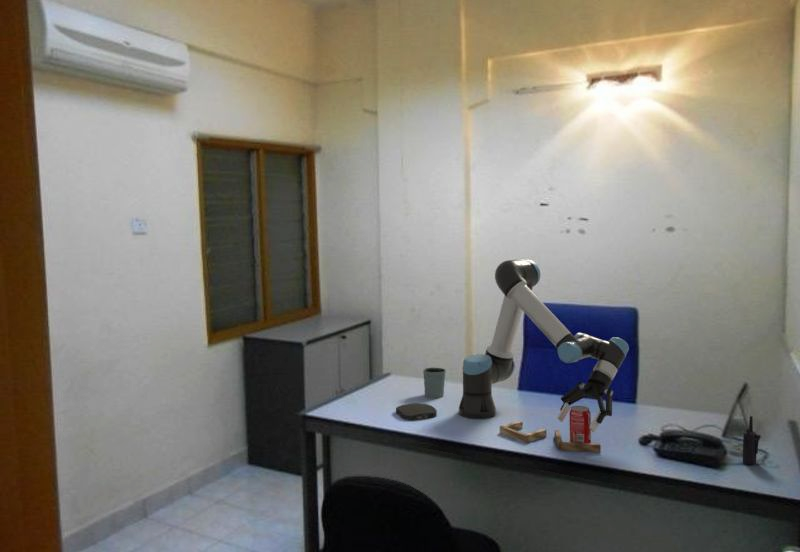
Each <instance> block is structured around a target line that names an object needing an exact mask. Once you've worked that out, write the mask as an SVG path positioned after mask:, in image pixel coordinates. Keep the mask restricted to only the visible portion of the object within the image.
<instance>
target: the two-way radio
mask: <svg viewBox="0 0 800 552" xmlns="http://www.w3.org/2000/svg"><path fill="white" fill-rule="evenodd" d="M753 421H754V420H753V416H752V415H750V416H749V424H748V428H746V431H745V432H743V436H742V437H743V439H742V441H743V442H742V463H743V464H746V465H754V464H756V463H757V455H758V452H759V442H760V439H761V437H762V436H761V434H757V432H755V431H753V430H754V429H753V428H754V427H753V425H754V424H753V423H754V422H753Z"/></svg>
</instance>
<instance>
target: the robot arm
mask: <svg viewBox="0 0 800 552" xmlns="http://www.w3.org/2000/svg"><path fill="white" fill-rule="evenodd" d="M540 279H541V270H540V268H539V266H538V264H537V263H536V262H535V261H533V260H531V259H527V258H520V259H509V260H505V261H502V262H501V263H499V265H498V266H497V267H496V269H495V271H494V280H495V284H496V286H497V287H498V289H499V290H500V291H501V293H502V294H503V295H504V296H503V300H502V304H501V307H500V311H499V315H498V319H497V323H496V326H495V330H494V334H493V337H492V342H491V344H490V345H488V346H487V347H486V349H485V354H482V353H479V354H475V355H474V354H471V355H469V356H467V357H465V358H464V359H463V363H462V369H461V370H462V397H461V400H460V402H459V403H460V404H459V406H458V415H460V416H462V417H464V418H467V419H474V420H481V419H482V420H483V419H484V420H485V419H490V418H493V417H495V416H496V415H497V407H496V405H495V402H494V399H493V396H492V393H493V392H492V391H493V389H492V386H493V385H494V384H497V383H499V382H504V381H506V380H507V379H509V378H510V377H511V376H512V375H513V374H514V372H515V370H516V369H515V368H516V364H515V360H514V356H515V355H514V353H513V351H512V350H513V346H514V342H515V339H516V335H517V331H518V327H519V323H520V320H521V316H522V313H525V315H526V316H527V317H528V318H529V319H530V320H531V322H532V323H534V325H535V326H536V327H537V328H538V329H539V330H540V332H542V334H544V335H545V337H546V338H547V339H548V340H549V341H550V342H551V343H552V345H554V347H555V348H556V349H557V355H558V357H559V359H560V360H561V361H562V362H564V363H567V364H570V363H571V364H573V363H577V362H579V361H581V360H582V359H586V358H589V357H590V358H592V359H595V360H597V362H596V364H595V365H594V367H593V369H592V370H593V371H592V370H591V372H590V374H589V376H588V378H587V382H586V383H584V382H582V381H581V380H580V381H578V382H577V383H576V385H574V387H573V388H571V389H570V390H569V391H567V393H565V394H564V395H562V397H560V400H561V401H562V405H561V408H559V409H560V412H559V413H558V415H557V416H556V417H557V419H558V420H559V422H560V423H563V422H564V419H565V418H566V416H567V414H568V413H569V412H570V410H571V405H573V404H575V403H576V402H579V401H580V400H582V399H587V398H589V399H593V400H597V405H598V408H599V411H597V412H596V413H595V416H594V418H593V420H591V425H590V427H589V428H590V429H591V433H595V432H596V430H597V429H598V427H599V425H600V424H602V422H603V421H604V419H605V417H607V416H609V417H612V416H613V396H614V391H613V390H612V388H611V387H610V386H611V384H612V383H613V380H614V379H615V377H616V374H617V373H618V371H619V369H620V367H621V365H622V364H623V362H624V360H625V359H626V357H627V355H628V352H629V350H630V347H629V344H628V342H626V341H625V339H622V338H620V337H618V336H617V337H615V336H613V337H611V338H610V339H609V340H603V339H600V338H598V337H595V336H593V335H589V334H587V333H583V332H577V333H575V335H573V334H572V332H570V331H569V329H568V328H567V327H566V326H565V324H563V323H562V322H561V321H560V320H559V318H557V316H556V315H555V314H554V313H552V311H551V310H550V309H549V308H548V307H547V306H546V305H545V304H544V303H543V301H542V300H541V299H540V298H539V297H538V296H537V295H536V294H535V292H533V291H532V290H533V288H534V287H535V286H536V285H537V284H538V283H539V282H540ZM604 395H605V403H604V399H603V396H604Z"/></svg>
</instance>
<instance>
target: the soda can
mask: <svg viewBox="0 0 800 552" xmlns="http://www.w3.org/2000/svg"><path fill="white" fill-rule="evenodd" d="M591 417H592V415H591V411H590V408H589V407H587V406H585V405H572V406H570V409H569V442H577V443H592V431H591V429H590V428H589V427H590V425H591V423H592V418H591Z"/></svg>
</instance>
